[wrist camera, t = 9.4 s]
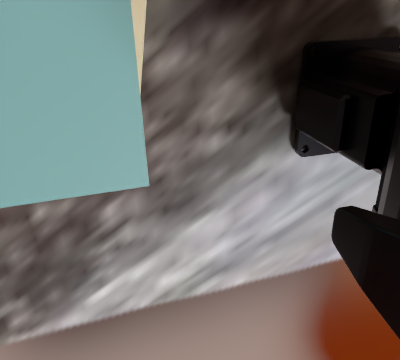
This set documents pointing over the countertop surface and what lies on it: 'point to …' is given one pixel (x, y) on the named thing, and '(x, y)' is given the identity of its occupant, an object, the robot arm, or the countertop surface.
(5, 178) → the teal cube
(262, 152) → the countertop surface
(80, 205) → the countertop surface
